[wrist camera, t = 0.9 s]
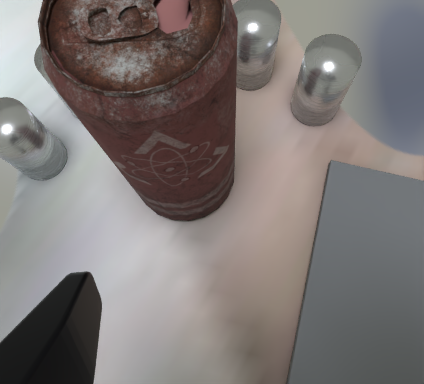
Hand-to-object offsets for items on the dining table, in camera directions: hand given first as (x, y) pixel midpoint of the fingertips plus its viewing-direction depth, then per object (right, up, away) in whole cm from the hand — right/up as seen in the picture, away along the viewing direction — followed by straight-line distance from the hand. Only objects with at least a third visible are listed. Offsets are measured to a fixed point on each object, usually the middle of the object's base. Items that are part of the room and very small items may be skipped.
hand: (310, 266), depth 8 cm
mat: (+9, -5, +13) cm, 17 cm away
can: (-4, +3, +17) cm, 17 cm away
